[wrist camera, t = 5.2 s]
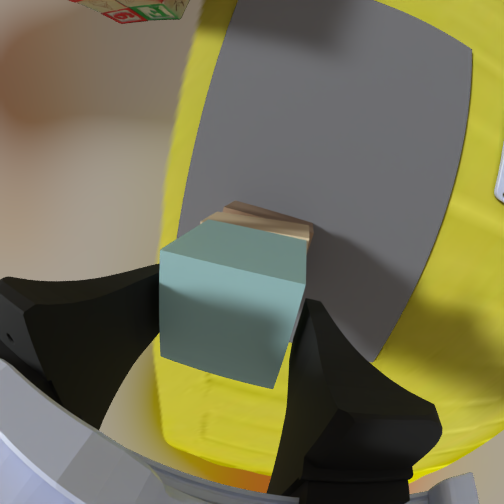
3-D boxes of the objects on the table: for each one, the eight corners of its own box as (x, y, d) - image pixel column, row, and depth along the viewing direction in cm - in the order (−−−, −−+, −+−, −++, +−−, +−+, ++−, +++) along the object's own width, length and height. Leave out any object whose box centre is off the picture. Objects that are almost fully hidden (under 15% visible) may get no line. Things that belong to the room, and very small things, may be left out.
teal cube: (306, 240, 12) (305, 284, 8) (284, 324, 13) (273, 389, 9) (208, 219, 12) (159, 249, 8) (199, 303, 14) (160, 356, 10)
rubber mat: (470, 50, 10) (471, 49, 10) (372, 360, 19) (372, 362, 19) (248, -22, 11) (247, -24, 11) (170, 299, 21) (168, 301, 20)
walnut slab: (312, 222, 16) (313, 233, 14) (289, 292, 18) (286, 311, 16) (235, 200, 17) (223, 206, 15) (219, 270, 19) (207, 286, 16)
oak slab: (308, 225, 14) (309, 238, 12) (293, 307, 16) (290, 332, 13) (216, 211, 15) (200, 221, 12) (211, 292, 16) (197, 313, 14)
